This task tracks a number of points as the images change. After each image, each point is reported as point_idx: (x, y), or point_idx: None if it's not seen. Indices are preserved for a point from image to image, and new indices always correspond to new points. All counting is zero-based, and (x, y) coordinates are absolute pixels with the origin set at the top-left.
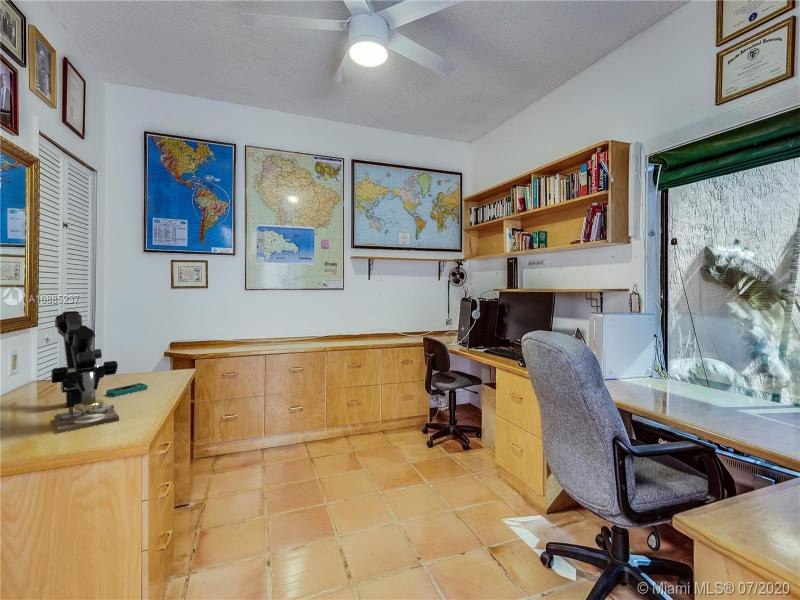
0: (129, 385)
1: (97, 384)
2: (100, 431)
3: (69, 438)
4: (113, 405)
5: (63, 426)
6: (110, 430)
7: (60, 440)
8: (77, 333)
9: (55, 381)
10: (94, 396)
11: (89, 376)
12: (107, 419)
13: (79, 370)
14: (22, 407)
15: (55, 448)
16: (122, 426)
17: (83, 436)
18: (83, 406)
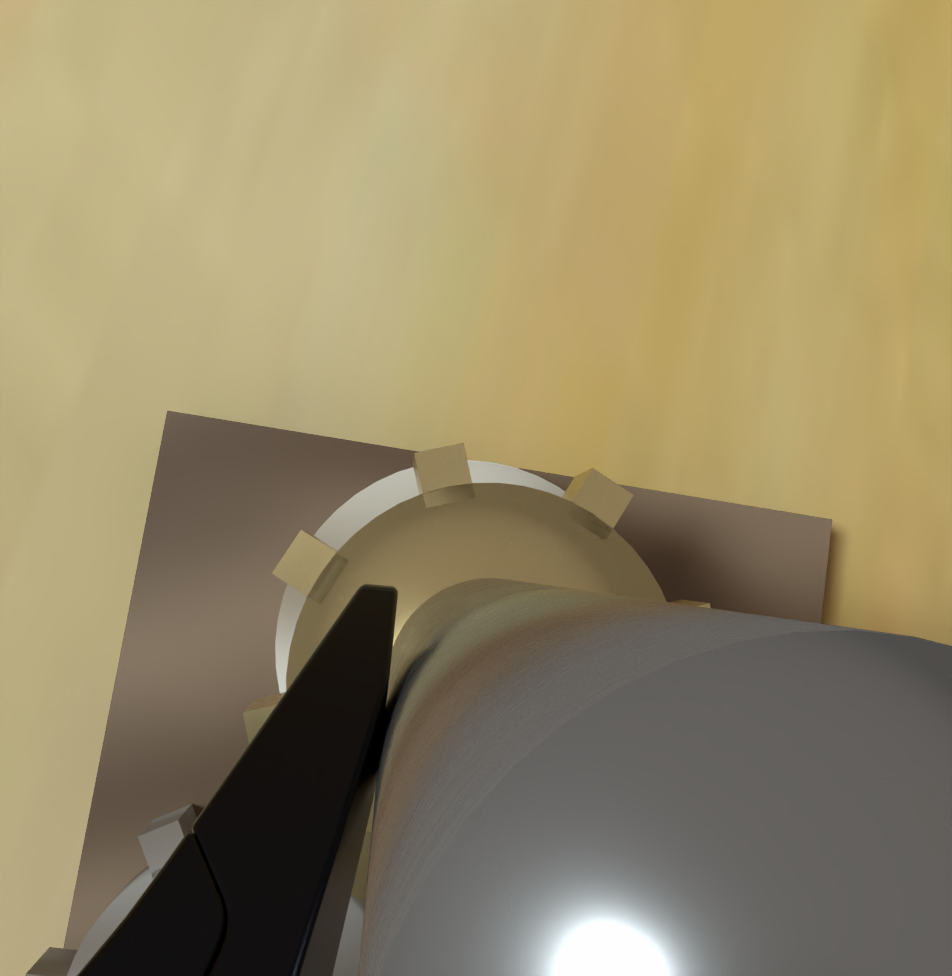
0: None
1: (322, 660)
2: (471, 187)
3: (752, 234)
4: (32, 972)
5: (766, 574)
6: (386, 124)
7: (826, 247)
8: None
9: None
10: (422, 615)
11: (725, 615)
12: (309, 434)
13: None
14: None
15: (901, 41)
16: (243, 150)
17: (640, 173)
18: (616, 533)
